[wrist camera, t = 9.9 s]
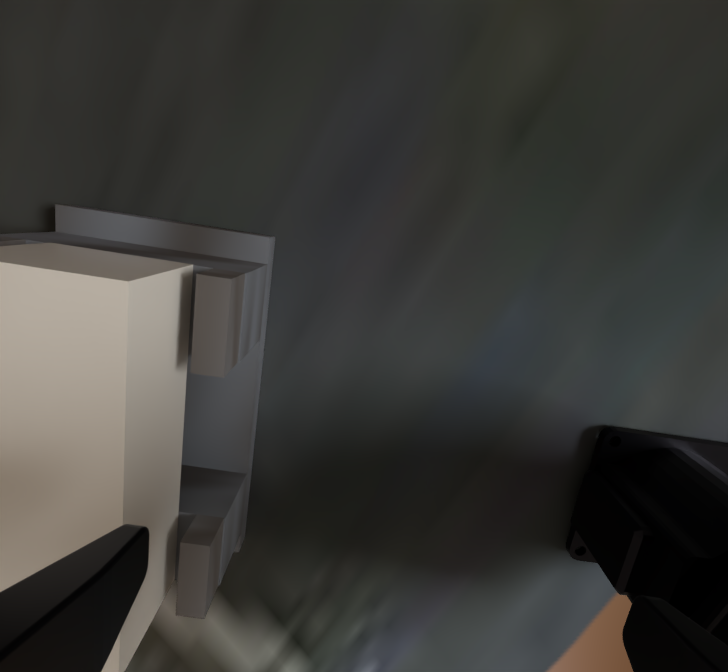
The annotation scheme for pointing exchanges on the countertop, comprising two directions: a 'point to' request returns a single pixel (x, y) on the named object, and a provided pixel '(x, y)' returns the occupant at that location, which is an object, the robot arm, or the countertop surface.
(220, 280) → the dark grey angular piece
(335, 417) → the countertop surface
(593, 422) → the countertop surface
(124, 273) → the clay block
